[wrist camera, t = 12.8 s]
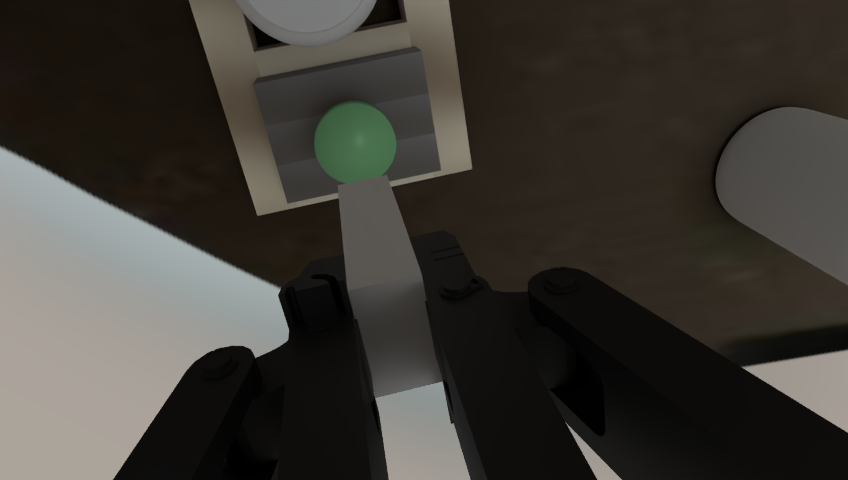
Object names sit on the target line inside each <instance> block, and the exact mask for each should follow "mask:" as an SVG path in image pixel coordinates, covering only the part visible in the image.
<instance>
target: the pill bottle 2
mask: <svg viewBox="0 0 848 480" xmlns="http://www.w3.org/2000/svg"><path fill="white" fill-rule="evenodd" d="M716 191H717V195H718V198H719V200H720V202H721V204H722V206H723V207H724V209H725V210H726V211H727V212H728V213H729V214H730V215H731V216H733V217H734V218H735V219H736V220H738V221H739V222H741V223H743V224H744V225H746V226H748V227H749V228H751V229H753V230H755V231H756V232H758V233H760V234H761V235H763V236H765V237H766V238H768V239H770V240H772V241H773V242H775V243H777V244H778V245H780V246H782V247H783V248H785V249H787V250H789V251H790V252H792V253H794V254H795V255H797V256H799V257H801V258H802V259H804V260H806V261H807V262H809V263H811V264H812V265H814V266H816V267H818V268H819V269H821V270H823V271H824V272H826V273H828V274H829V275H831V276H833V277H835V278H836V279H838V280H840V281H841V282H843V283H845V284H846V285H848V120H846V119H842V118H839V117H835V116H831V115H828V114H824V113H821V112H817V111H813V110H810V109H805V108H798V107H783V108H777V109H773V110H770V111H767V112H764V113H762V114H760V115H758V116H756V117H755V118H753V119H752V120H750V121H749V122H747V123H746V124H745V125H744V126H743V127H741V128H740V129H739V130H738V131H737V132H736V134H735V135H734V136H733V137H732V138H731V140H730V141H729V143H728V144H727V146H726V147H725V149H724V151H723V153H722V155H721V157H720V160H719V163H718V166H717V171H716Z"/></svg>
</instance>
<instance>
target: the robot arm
mask: <svg viewBox="0 0 848 480" xmlns="http://www.w3.org/2000/svg"><path fill="white" fill-rule="evenodd" d="M338 195H339V205H340V216H341V227H342V238H343V248H344V254H343V255H338V256H334V257H329V258H325V259H321V260H316V261H312V262H309V264H308V265H307V266H306V267H305V269H304V270H303V271H302V273H301V276H299V277H297V278H295V279H293V280H292V281H290V282H288V283H287V284H286V285H285V286H284V287H282V288H281V290H280V292H279V295H278V296H279V299H280V302H281V306H282V309H283V312H284V315H285V318H286V321H287V324H288V327H289V339H288V341H287V342H286V343H284V344H283V345H281V346H280V347H278V348H276V349H275V350H272V351H270V352H268V353H266V354H264V355H262V356H259V357H257V358H255V357H254V354H253V352H252V351H251V349H249V348H246V347H244V346H229V347H224V348H219V349H216V350H215V351H211V352H209V353H207V354H206V355H204V356H203V357H201V358H200V359H198V360H197V361H195V362H194V363H193V364H192V365H191V366H190V368H189V369H188V370H187V371H186V373H185V374H184V375H183V377H182V378H181V380H180V381H179V383H178V384H177V386H176V387H175V389H174V390H173V392H172V393H171V395H170V396H169V398H168V399H167V401H166V402H165V404H164V405H163V407H162V408H161V409H160V411H159V413H158V414H157V415H156V417H155V418H154V420H153V421H152V423H151V424H150V426H149V427H148V429H147V430H146V432H145V433H144V435H143V436H142V438H141V439H140V441H139V442H138V444H137V445H136V447H135V448H134V449H133V451H132V453H131V454H130V455H129V457H128V458H127V460H126V461H125V463H124V464H123V466H122V467H121V469H120V470H119V472H118V473H117V475H116V476H115V478H114V479H113V480H388V472H387V465H386V458H385V451H384V444H383V437H382V431H381V423H380V417H379V411H378V407H377V404H376V400H375V398H377V397H381V396H384V395H389V394H393V393H397V392H401V391H405V390H409V389H413V388H417V387H421V386H425V385H430V384H434V383H438V382H442V380H443V385H444V390H445V395H446V400H447V406H448V411H449V416H450V421H451V424H452V423H454V425H455V429H456V432H457V435H458V439H459V442H460V445H461V449H462V452H463V455H464V459H465V462H466V465H467V469H468V472H469V475H470V479H471V480H597V478H596V477H595V475H594V473H593V471H592V470H591V468H590V466H589V464H588V462H587V460H586V459H585V457H584V455H583V454H582V451H581V450H580V448H579V446H578V444H577V443H576V441H575V439H574V437H573V435H572V433H571V432H570V430H569V428H568V426H567V424H568V425H569V426H570V427H571V428H572V429H573V430H574V431H575V432H576V433H577V434H578V435H579V436H580V437H581V438H582V439H583V440H584V441H585V442H586V443H587V444H588V445H589V447H591V449H592V450H593V451H594V452H595V453H596V454H597V455H598V456H599V457H600V458H601V459H602V460H603V461H604V462H605V463H606V464H607V465H608V466H609V467H610V468H611V469H612V470H613V471H614V472H615V473H616V474H617V475H618V476H619V477H620V478H621V479H622V480H848V433H847V432H845V431H844V430H842V429H841V428H839V427H837V426H836V425H834V424H832V423H831V422H829V421H828V420H826V419H824V418H823V417H821V416H819V415H817V414H816V413H815V412H813V411H811V410H810V409H808V408H806V407H805V406H803V405H802V404H800V403H798V402H797V401H795V400H793V399H792V398H790V397H789V396H787V395H785V394H784V393H782V392H780V391H779V390H777V389H776V388H774V387H772V386H771V385H769V384H767V383H766V382H764V381H762V380H761V379H759V378H758V377H756V376H754V375H753V374H751V373H750V372H748V371H746V370H745V369H743V368H741V367H740V366H738V365H737V364H735V363H733V362H732V361H730V360H728V359H727V358H725V357H724V356H722V355H720V354H719V353H717V352H716V351H714V350H712V349H711V348H709V347H707V346H706V345H704V344H703V343H701V342H699V341H698V340H696V339H694V338H693V337H691V336H690V335H688V334H686V333H685V332H683V331H681V330H680V329H678V328H677V327H675V326H673V325H672V324H670V323H668V322H667V321H665V320H664V319H662V318H660V317H659V316H657V315H655V314H654V313H652V312H651V311H649V310H647V309H646V308H644V307H642V306H641V305H639V304H638V303H636V302H634V301H633V300H631V299H629V298H628V297H626V296H625V295H623V294H621V293H620V292H618V291H616V290H615V289H613V288H612V287H610V286H608V285H607V284H605V283H603V282H602V281H600V280H599V279H597V278H595V277H594V276H592V275H590V274H589V273H587V272H584V271H582V270H579V269H574V268H567V267H560V268H558V267H557V268H551V269H549V270H545V271H542V272H540V273H538V274H536V275H534V276H533V277H532V278H531V279H530V280H529V282H528V292H500V291H494V290H492V289H491V287H490V285H489V284H488V282H487V281H486V280H485V279H484V278H482V277H479V276H476V275H475V273H474V271H473V270H472V268H471V266H470V264H469V262H468V260H467V258H466V256H465V255H464V253H463V251H462V249H461V247H460V245H459V243H458V241H457V240H456V238H455V236H453V235H451V234H449V233H447V232H445V231H443V230H442V231H438V232H434V233H429V234H425V235H420V236H416V237H411V238H409V237H408V234H407V231H406V228H405V225H404V222H403V219H402V217H401V214H400V211H399V208H398V205H397V202H396V200H395V197H394V194H393V191H392V188H391V185H390V183H389V180H388V177H387V175H383V176H378V177H374V178H369V179H364V180H360V181H355V182H351V183H346V184H341V185H338ZM441 375H442V376H441ZM374 394H375V396H374ZM565 422H566V423H567V424H566V423H565Z"/></svg>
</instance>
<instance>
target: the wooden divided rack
mask: <svg viewBox="0 0 848 480" xmlns="http://www.w3.org/2000/svg"><path fill="white" fill-rule="evenodd" d="M189 2H190V6H191V9H192V12H193V15H194V18H195V21H196V24H197V27H198V31H199V34H200V37H201V40H202V43H203V46H204V49H205V53H206V56H207V59H208V62H209V65H210V68H211V71H212V75H213V78H214V81H215V84H216V87H217V90H218V93H219V96H220V100H221V103H222V106H223V109H224V112H225V115H226V118H227V122H228V125H229V128H230V131H231V134H232V137H233V140H234V143H235V147H236V150H237V153H238V156H239V159H240V162H241V165H242V169H243V172H244V175H245V178H246V181H247V184H248V187H249V191H250V194H251V197H252V200H253V203H254V206H255V209H256V212H257V216H259V215H263V214H268V213H273V212H277V211H282V210H286V209H291V208H296V207H300V206H305V205H309V204H314V203H319V202H323V201H328V200H332V199H337V198H339V195H338V185H341V184H346V183H343V182H340V181H338V180H336V179H334V178H332V177H331V176H329V175H328V174H327V173H326V172H325V171H324V170H323V168H322V167H321V165H320V164H319V162H318V160H317V157H316V154H315V147H314V138H315V130H316V127H317V124H318V122H319V120H320V118H321V117H322V116H323V114H324V113H325V112H326V111H327V110H328V109H330V108H331V107H332V106H334V105H336V104H338V103H341V102H344V101H350V100H358V101H363V102H367V103H369V104H372V105H374V106H375V107H377V108H378V109H379V110H381V111H382V112H383V113H384V114H385V116H386V117H387V118H388V120H389V122H390V124H391V126H392V128H393V130H394V133H395V137H396V153H395V156H394V159H393V162H392V163H391V165H390V167H389V168H388V169H387V171H386V172H385V173H384V174H383V175H387V177H388V180H389V183H390V185H391V187H392V186H397V185H401V184H406V183H411V182H415V181H420V180H424V179H429V178H433V177H438V176H443V175H447V174H452V173H456V172H461V171H466V170H470V169H472V165H471V157H470V150H469V143H468V136H467V129H466V122H465V114H464V107H463V100H462V93H461V86H460V79H459V71H458V64H457V57H456V50H455V43H454V36H453V28H452V21H451V14H450V7H449V0H398V5H399V10H400V16H401V19H399V20H394V21H389V22H383V23H378V24H373V25H368V26H363V27H358V28H357V29H356V30H355V31H354V32H352V33H351V34H350V35H348V36H346V37H345V38H343V39H341V40H339V41H336V42H334V43H331V44H327V45H323V46H316V47H304V46H296V45H291V44H287V43H284V42H281V43H276V44H271V45H266V46H260V47H258V44H257V40H256V36H255V33H254V29H253V26H252V22H251V21H250V20H249V19H248V18H247V17H246V15H245V14H244V13H243V12H242V10H241V9H240V8H239V6H238V5H237V3H236V1H235V0H189ZM383 175H381V176H383Z"/></svg>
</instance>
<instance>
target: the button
mask: <svg viewBox="0 0 848 480" xmlns="http://www.w3.org/2000/svg"><path fill="white" fill-rule="evenodd" d="M314 147H315V154H316V157H317V160H318V162H319V164H320V165H321V167H322V168H323V170H324V171H325V172H326V173H327V174H328V175H329V176H331V177H332V178H334V179H336V180H338V181H340V182H343V183H351V182H355V181H360V180H364V179H369V178H374V177H378V176H381V175H383V174H384V173H385V172H386V171H387V169H388V168H389V167H390V165H391V163H392V162H393V159H394V156H395V153H396V137H395V133H394V130H393V128H392V126H391V124H390V122H389V120H388V118H387V117H386V116H385V114H384V113H383V112H382V111H381V110H379V109H378V108H377V107H375V106H374V105H372V104H369V103H367V102H363V101H358V100H350V101H344V102H341V103H338V104H336V105H334V106H332V107H331V108H330V109H328V110H327V111H326V112H325V113H324V114H323V116H322V117H321V118H320V120H319V122H318V124H317V127H316V130H315V138H314Z"/></svg>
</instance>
